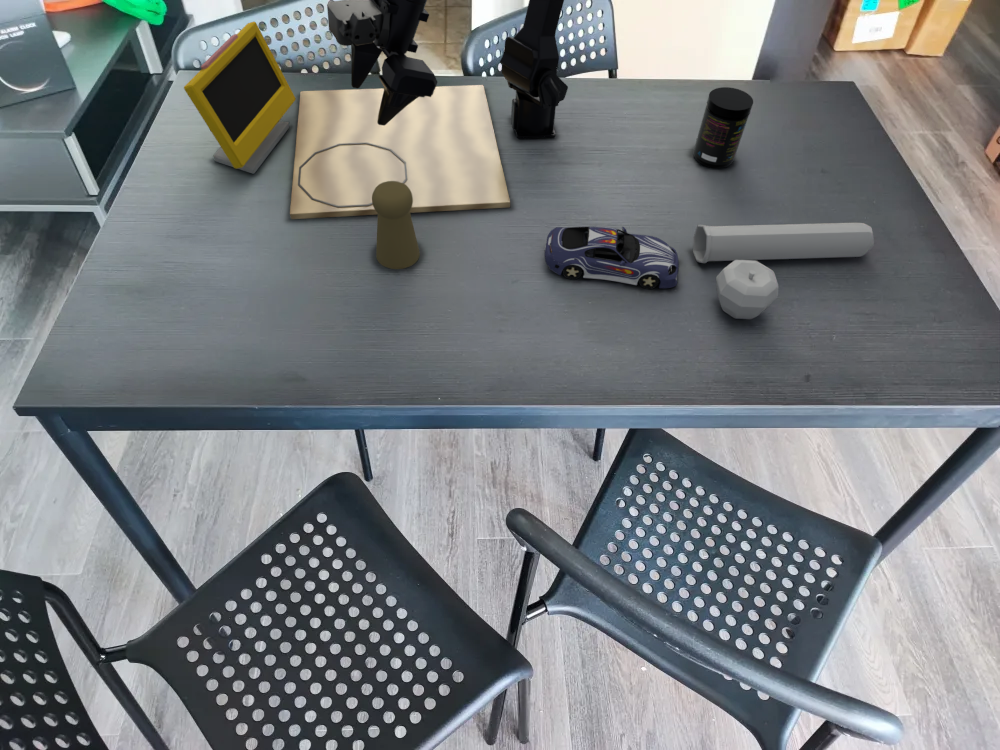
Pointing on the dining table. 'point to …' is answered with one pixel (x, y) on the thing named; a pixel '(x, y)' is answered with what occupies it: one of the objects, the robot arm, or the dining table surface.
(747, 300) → the apple
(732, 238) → the tube
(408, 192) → the pepper shaker
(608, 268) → the toy car
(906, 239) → the dining table surface
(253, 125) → the toy computer monitor
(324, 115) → the sketch board
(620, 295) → the dining table surface
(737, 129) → the supplement container
